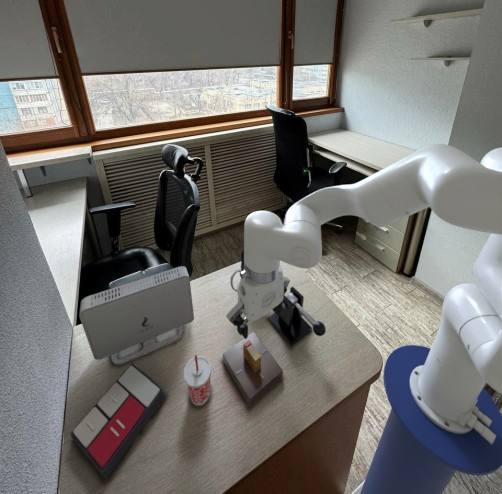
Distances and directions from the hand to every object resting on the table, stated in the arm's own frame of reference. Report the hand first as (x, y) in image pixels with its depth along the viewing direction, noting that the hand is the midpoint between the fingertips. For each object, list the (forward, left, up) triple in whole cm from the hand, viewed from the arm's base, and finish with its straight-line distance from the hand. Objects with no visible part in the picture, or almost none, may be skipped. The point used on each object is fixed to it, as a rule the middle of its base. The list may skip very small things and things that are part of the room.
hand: (259, 321), depth 64 cm
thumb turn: (0, +2, -13) cm, 13 cm away
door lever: (-2, -14, -7) cm, 16 cm away
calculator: (+9, +31, -16) cm, 36 cm away
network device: (+24, +21, -16) cm, 35 cm away
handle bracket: (+3, -14, -16) cm, 21 cm away
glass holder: (+19, -10, -16) cm, 27 cm away
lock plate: (0, +2, -16) cm, 16 cm away
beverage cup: (+3, +15, -16) cm, 22 cm away
